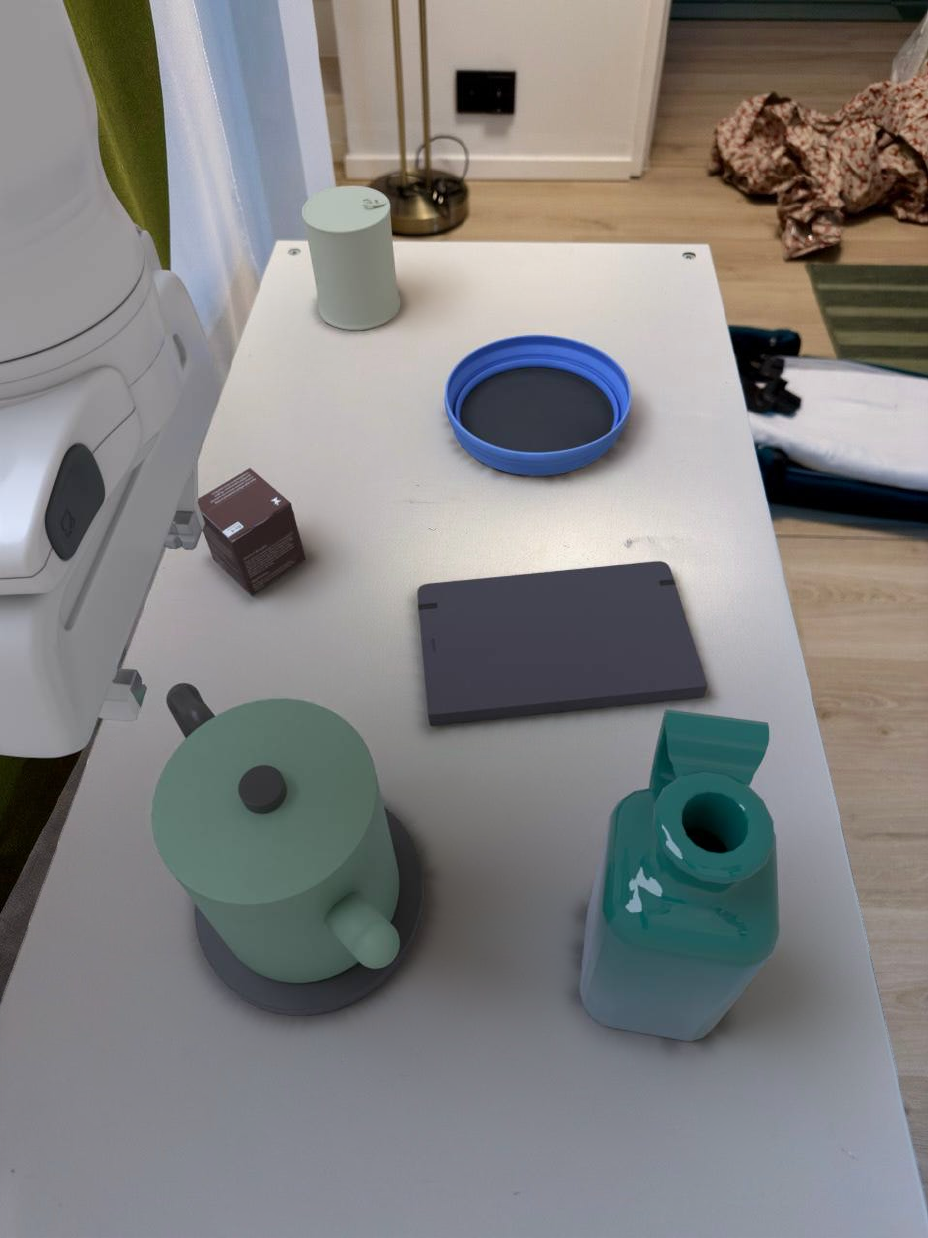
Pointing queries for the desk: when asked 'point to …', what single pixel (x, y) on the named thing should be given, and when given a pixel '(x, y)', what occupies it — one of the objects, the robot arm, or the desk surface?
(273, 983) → the kettle base
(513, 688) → the notebook
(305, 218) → the can
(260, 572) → the box
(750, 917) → the pitcher
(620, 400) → the bowl
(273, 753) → the kettle
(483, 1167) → the desk surface
